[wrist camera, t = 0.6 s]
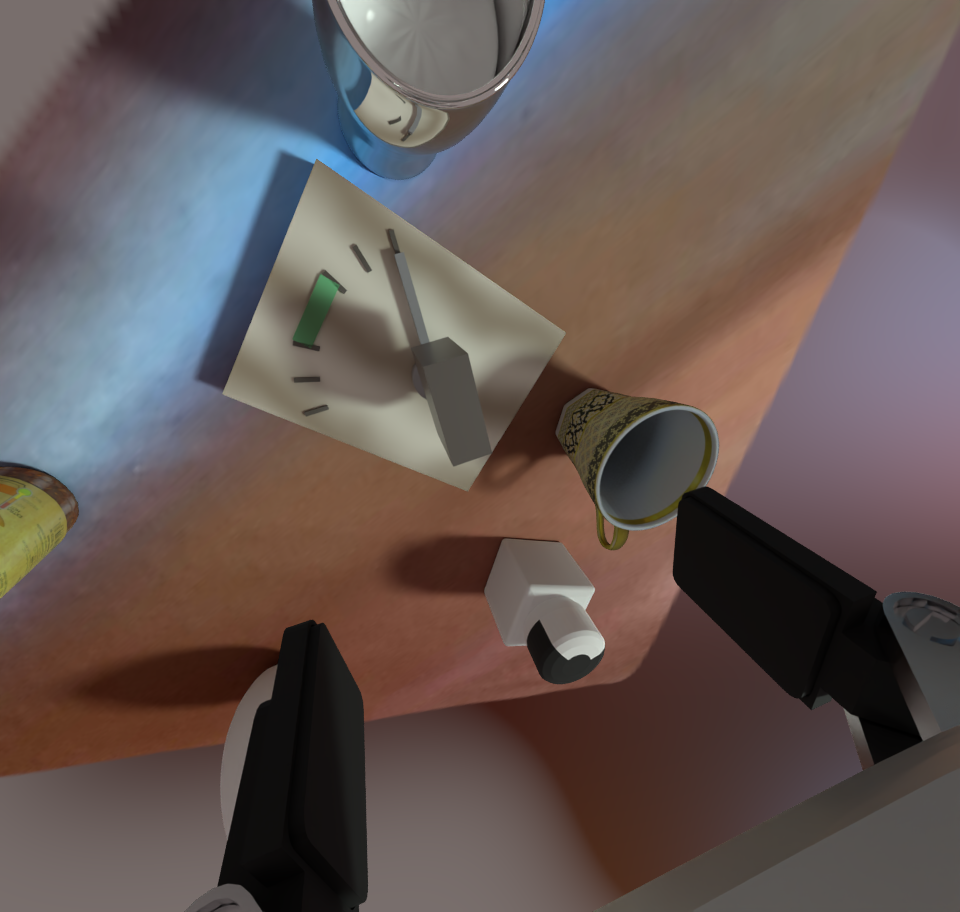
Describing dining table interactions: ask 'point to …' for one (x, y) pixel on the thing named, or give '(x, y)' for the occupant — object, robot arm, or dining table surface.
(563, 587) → the medicine bottle
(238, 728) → the white air blower bulb
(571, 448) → the ceramic cup
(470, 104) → the beer glass
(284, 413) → the tuner board
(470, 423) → the grey block on stem
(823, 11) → the dining table surface
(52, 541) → the sauce bottle
